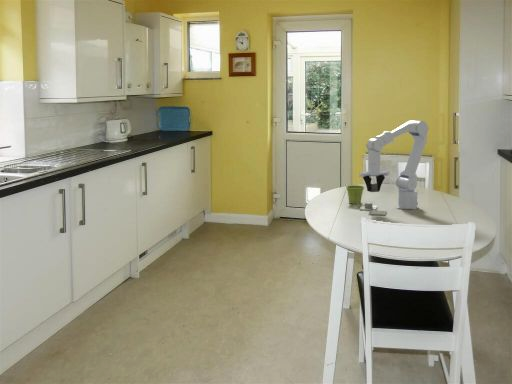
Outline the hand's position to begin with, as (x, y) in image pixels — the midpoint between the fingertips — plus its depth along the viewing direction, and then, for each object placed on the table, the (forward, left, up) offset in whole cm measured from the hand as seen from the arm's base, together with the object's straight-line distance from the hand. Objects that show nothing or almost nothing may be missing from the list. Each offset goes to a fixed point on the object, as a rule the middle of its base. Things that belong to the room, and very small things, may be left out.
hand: (373, 190), depth 275 cm
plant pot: (+11, -18, -10) cm, 24 cm away
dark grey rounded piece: (0, 0, 0) cm, 0 cm away
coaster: (-2, +5, -10) cm, 11 cm away
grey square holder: (+3, -5, -10) cm, 12 cm away
